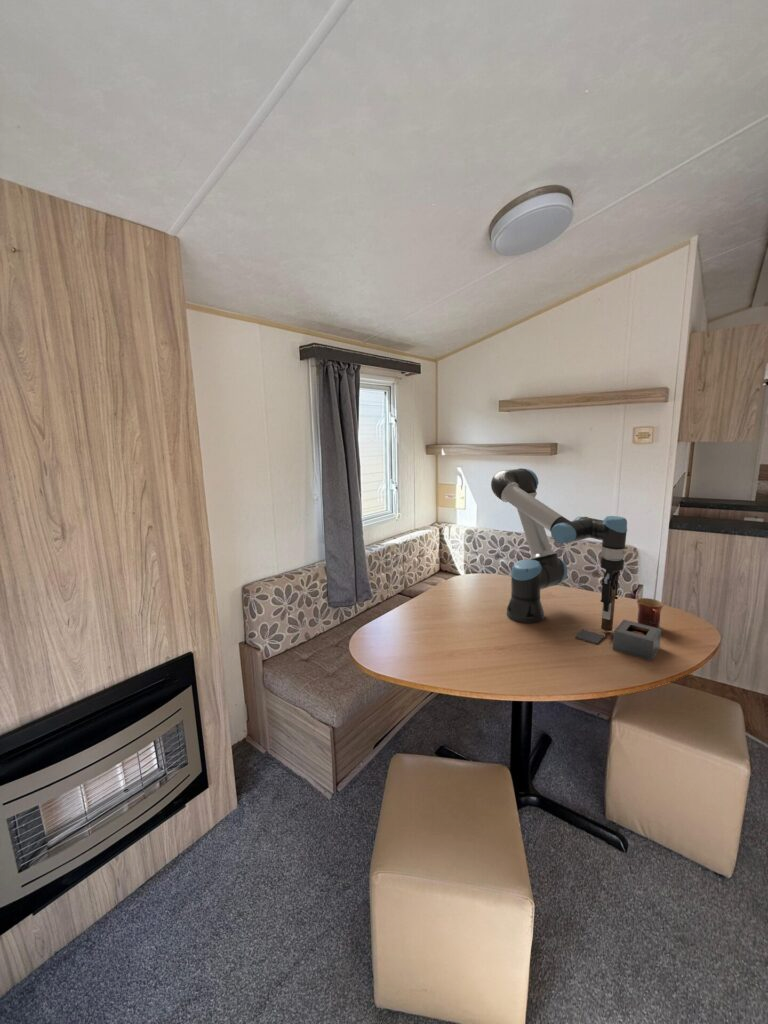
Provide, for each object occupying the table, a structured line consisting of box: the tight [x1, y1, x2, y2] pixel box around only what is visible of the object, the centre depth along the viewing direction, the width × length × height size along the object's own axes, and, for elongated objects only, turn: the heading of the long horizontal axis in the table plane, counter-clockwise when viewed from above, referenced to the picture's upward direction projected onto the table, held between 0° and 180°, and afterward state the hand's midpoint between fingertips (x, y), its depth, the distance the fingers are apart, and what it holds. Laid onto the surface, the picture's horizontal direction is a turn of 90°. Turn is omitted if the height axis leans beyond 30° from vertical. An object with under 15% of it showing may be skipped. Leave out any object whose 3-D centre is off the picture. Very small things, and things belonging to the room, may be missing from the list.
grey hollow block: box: [612, 619, 662, 662], centre depth 146 cm, size 12×12×7 cm
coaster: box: [574, 628, 605, 646], centre depth 156 cm, size 8×8×1 cm
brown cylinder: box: [600, 589, 616, 632], centre depth 157 cm, size 4×4×16 cm
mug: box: [636, 597, 664, 629], centre depth 160 cm, size 12×9×10 cm
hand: (607, 616), depth 158 cm, fingers closed on brown cylinder, 4 cm apart
